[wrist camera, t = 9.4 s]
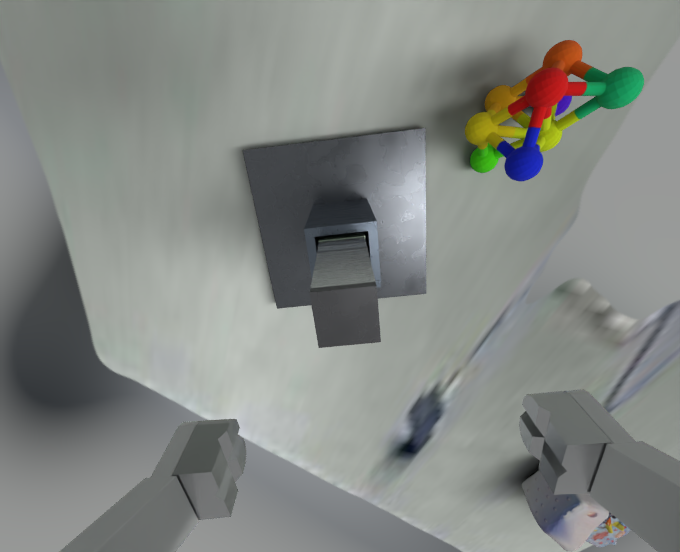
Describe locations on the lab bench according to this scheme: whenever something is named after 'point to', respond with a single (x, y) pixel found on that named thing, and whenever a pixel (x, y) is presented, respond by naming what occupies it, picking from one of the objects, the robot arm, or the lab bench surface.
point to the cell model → (571, 516)
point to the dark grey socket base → (342, 208)
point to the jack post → (344, 292)
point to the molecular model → (544, 110)
